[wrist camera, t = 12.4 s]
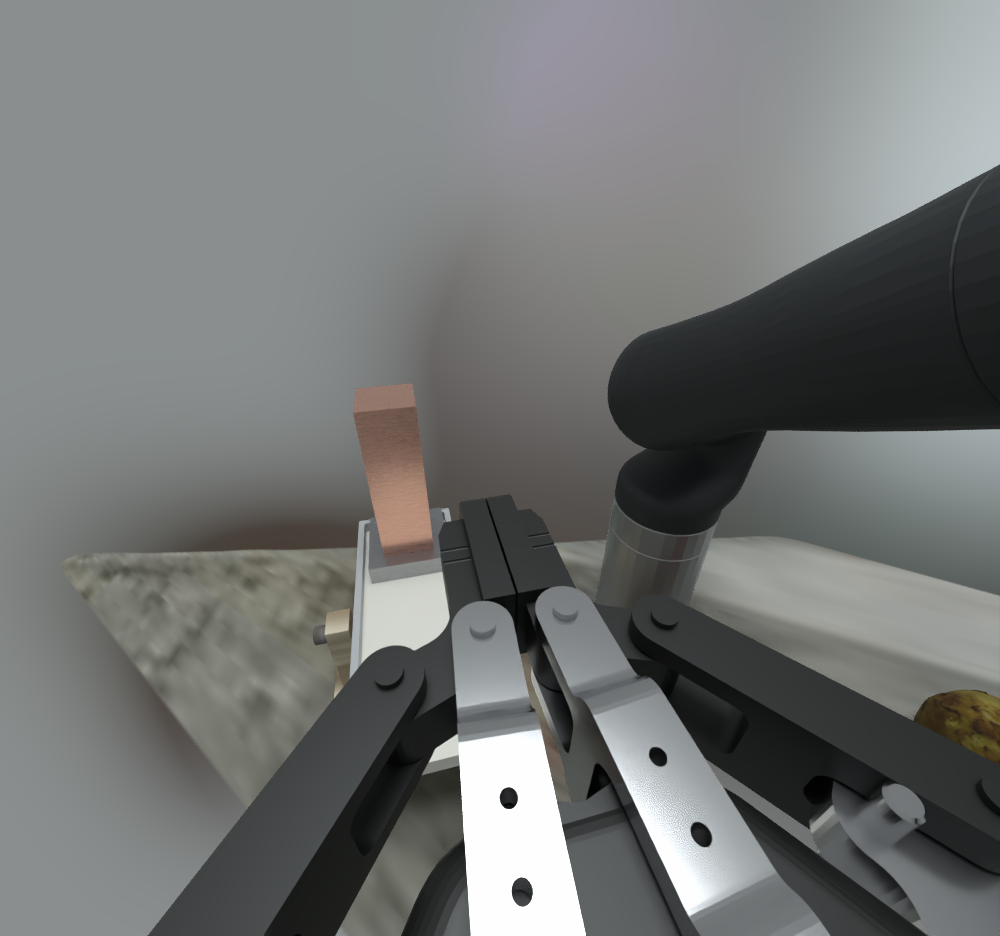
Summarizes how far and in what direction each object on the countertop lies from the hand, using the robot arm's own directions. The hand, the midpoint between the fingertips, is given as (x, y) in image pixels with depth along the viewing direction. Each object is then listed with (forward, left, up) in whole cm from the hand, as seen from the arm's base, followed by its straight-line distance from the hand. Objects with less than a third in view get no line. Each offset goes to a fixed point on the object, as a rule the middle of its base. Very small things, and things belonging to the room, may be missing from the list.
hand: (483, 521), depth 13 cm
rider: (-10, -25, -25) cm, 36 cm away
